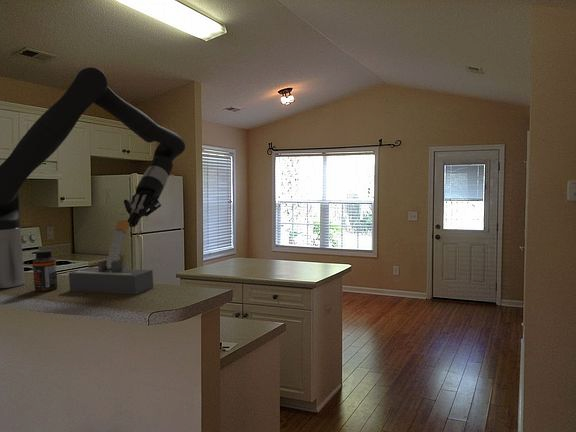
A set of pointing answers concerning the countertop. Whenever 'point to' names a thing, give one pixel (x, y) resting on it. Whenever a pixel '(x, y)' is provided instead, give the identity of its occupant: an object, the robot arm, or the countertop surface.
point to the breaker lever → (117, 243)
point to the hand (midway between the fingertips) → (130, 225)
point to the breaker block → (111, 279)
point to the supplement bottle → (44, 271)
